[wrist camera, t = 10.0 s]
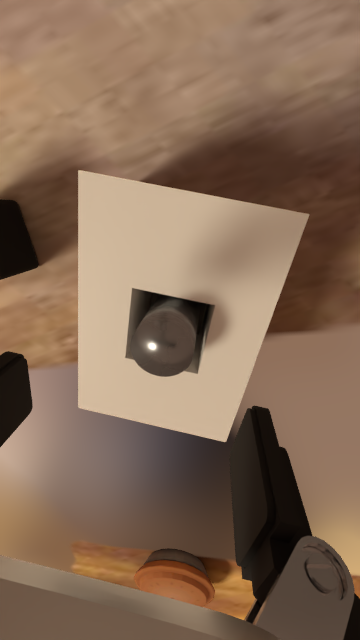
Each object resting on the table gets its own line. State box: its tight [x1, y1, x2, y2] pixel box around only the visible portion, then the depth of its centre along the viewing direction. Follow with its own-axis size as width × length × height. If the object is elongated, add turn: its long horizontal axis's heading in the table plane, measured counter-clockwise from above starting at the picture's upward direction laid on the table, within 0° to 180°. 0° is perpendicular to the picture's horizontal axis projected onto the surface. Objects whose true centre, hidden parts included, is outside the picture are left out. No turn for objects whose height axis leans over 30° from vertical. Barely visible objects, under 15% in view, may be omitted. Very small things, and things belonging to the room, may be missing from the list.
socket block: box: [78, 170, 309, 442], centre depth 22 cm, size 18×13×10 cm
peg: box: [130, 294, 200, 377], centre depth 19 cm, size 4×4×8 cm
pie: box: [134, 549, 215, 607], centre depth 48 cm, size 16×16×5 cm
